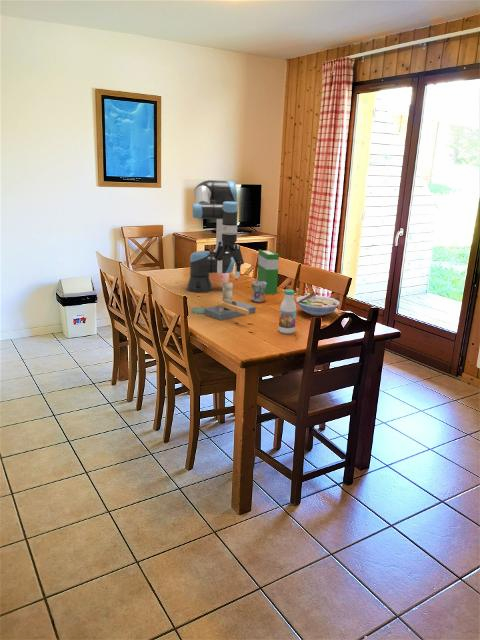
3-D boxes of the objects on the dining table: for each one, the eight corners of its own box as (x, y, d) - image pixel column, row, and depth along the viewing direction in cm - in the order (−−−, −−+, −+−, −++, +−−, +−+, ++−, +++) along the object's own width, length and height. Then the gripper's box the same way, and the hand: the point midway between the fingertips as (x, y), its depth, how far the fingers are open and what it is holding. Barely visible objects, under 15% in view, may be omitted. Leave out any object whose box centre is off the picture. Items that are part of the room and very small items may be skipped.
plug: (213, 312, 263) (214, 282, 258) (227, 309, 269) (228, 280, 264) (225, 316, 256) (226, 286, 251) (239, 313, 262) (241, 283, 257)
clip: (221, 304, 256) (221, 300, 255) (250, 314, 242) (250, 309, 241) (216, 305, 253) (216, 301, 253) (245, 315, 239) (245, 311, 239)
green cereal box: (256, 286, 319) (258, 249, 312) (267, 286, 321) (270, 249, 314) (264, 294, 303) (267, 254, 296) (276, 293, 305) (279, 254, 297)
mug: (267, 303, 283) (268, 284, 280) (251, 303, 282) (252, 284, 279) (264, 297, 295) (264, 279, 292) (248, 297, 294) (249, 279, 290)
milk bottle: (277, 328, 241) (279, 288, 235) (293, 328, 241) (296, 288, 235) (279, 333, 233) (282, 292, 227) (296, 334, 234) (299, 292, 228)
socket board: (204, 314, 259) (204, 303, 257) (239, 306, 274) (239, 296, 272) (220, 320, 250) (220, 309, 248) (255, 312, 265) (255, 302, 263)
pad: (187, 310, 263) (187, 309, 263) (201, 308, 269) (201, 307, 269) (198, 315, 257) (198, 313, 257) (212, 312, 263) (212, 311, 262)
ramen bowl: (327, 324, 251) (329, 308, 248) (286, 315, 262) (287, 300, 259) (345, 312, 271) (347, 298, 268) (306, 305, 282) (308, 291, 280)
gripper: (207, 230, 256) (207, 271, 262) (240, 237, 238) (238, 280, 245) (219, 230, 261) (218, 270, 267) (252, 236, 243) (250, 278, 250)
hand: (228, 275), depth 256 cm, fingers open, 13 cm apart
